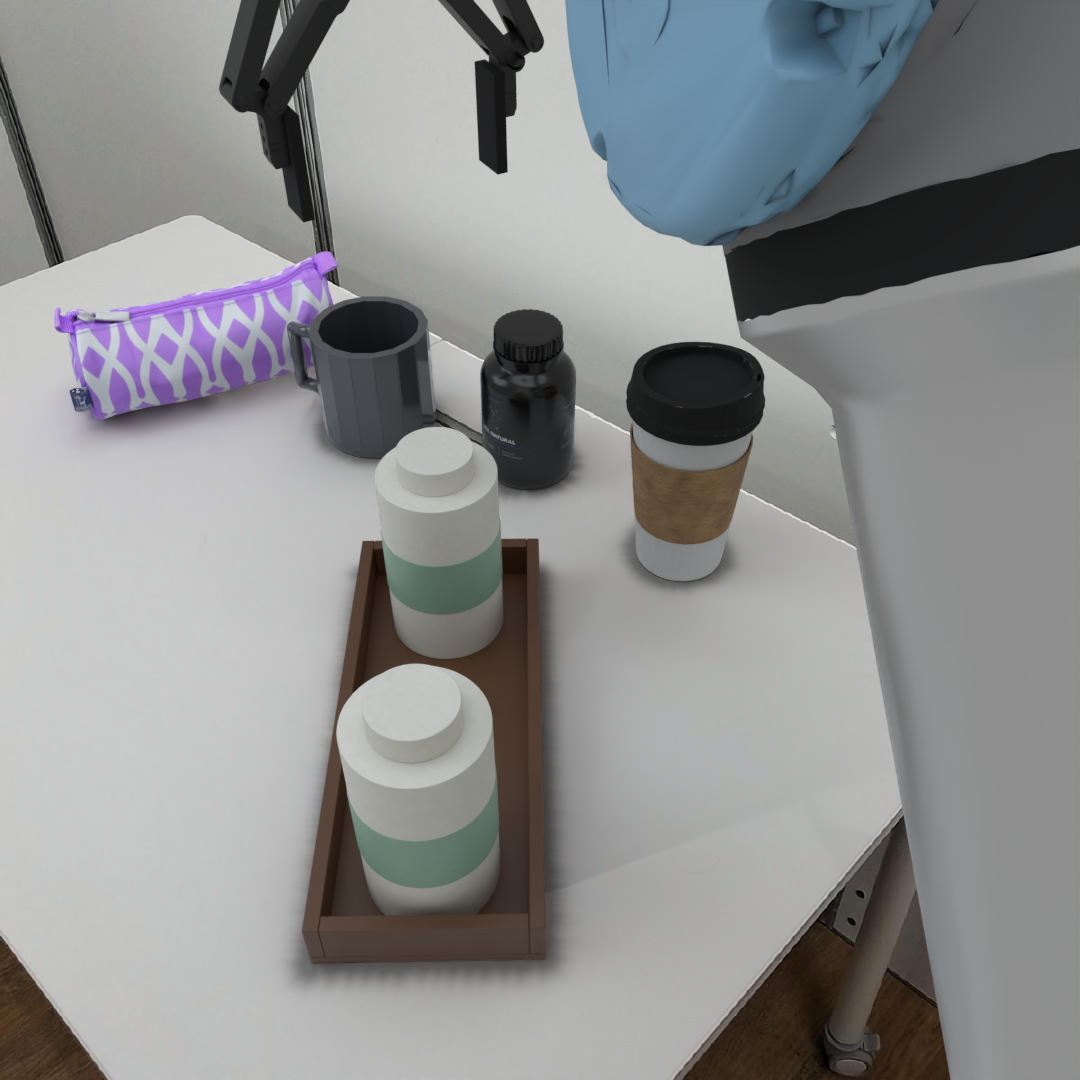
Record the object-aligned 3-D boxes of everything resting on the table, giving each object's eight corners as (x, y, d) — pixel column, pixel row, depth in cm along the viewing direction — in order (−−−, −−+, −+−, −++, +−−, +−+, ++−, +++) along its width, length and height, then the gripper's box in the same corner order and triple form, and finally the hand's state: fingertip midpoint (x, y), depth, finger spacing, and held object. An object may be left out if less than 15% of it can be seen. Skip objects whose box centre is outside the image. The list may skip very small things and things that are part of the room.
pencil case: (87, 447, 86) (50, 342, 80) (71, 385, 92) (35, 283, 86) (361, 377, 93) (347, 275, 86) (329, 324, 99) (313, 225, 93)
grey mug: (454, 407, 90) (447, 309, 84) (403, 469, 84) (391, 368, 78) (329, 376, 93) (314, 279, 87) (272, 433, 87) (251, 334, 81)
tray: (539, 571, 75) (538, 537, 73) (545, 959, 55) (545, 927, 53) (367, 574, 75) (362, 540, 73) (310, 963, 55) (301, 931, 53)
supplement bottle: (476, 489, 82) (468, 349, 74) (490, 433, 87) (484, 297, 79) (569, 495, 81) (572, 356, 73) (578, 439, 86) (581, 302, 78)
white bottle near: (521, 902, 57) (515, 736, 48) (386, 951, 55) (353, 788, 46) (475, 793, 62) (462, 623, 52) (350, 835, 60) (313, 666, 51)
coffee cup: (730, 606, 73) (759, 419, 63) (604, 581, 75) (613, 396, 65) (748, 524, 79) (778, 342, 69) (632, 502, 81) (644, 322, 71)
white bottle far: (520, 641, 70) (515, 471, 61) (412, 673, 68) (390, 503, 59) (482, 568, 75) (473, 401, 66) (380, 596, 73) (356, 429, 64)
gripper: (535, -230, 65) (539, 129, 79) (104, -187, 56) (195, 210, 70) (604, -211, 60) (594, 168, 75) (143, -161, 51) (232, 259, 66)
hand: (400, 189), depth 73 cm, fingers open, 13 cm apart
